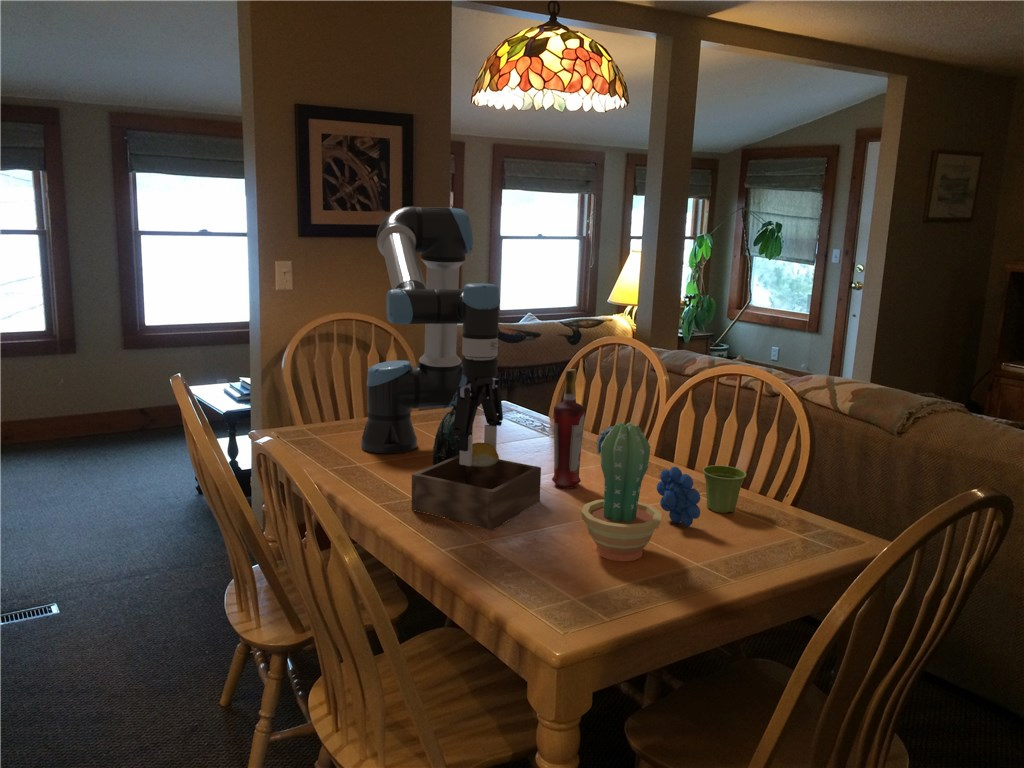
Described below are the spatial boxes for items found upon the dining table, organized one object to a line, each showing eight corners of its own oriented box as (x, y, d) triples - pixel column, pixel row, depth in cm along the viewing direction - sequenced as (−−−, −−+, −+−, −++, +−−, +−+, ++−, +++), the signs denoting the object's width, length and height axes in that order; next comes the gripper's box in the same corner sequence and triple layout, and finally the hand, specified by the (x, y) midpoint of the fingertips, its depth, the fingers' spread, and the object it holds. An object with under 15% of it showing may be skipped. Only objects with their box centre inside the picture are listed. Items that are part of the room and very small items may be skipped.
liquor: (556, 478, 196) (560, 366, 191) (585, 482, 194) (590, 369, 188) (546, 487, 190) (551, 371, 184) (576, 491, 187) (581, 374, 181)
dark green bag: (455, 463, 207) (457, 387, 203) (479, 465, 205) (481, 389, 201) (427, 486, 188) (427, 403, 184) (453, 489, 186) (454, 405, 182)
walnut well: (411, 510, 172) (411, 474, 171) (463, 484, 190) (464, 452, 188) (492, 530, 162) (493, 492, 161) (539, 501, 180) (541, 467, 178)
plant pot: (744, 505, 181) (747, 468, 180) (741, 518, 173) (745, 480, 171) (702, 499, 184) (704, 463, 183) (697, 512, 176) (700, 474, 174)
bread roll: (495, 455, 179) (496, 438, 178) (500, 467, 170) (500, 449, 169) (458, 456, 178) (458, 438, 177) (461, 468, 169) (461, 449, 168)
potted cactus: (651, 536, 161) (659, 416, 156) (667, 569, 146) (677, 436, 141) (575, 535, 161) (580, 414, 156) (583, 567, 146) (589, 435, 141)
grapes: (641, 518, 171) (645, 464, 169) (663, 512, 175) (667, 459, 173) (683, 536, 162) (687, 479, 160) (705, 529, 166) (710, 473, 164)
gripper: (466, 365, 158) (465, 475, 163) (520, 352, 177) (518, 450, 181) (435, 362, 162) (434, 468, 166) (491, 349, 181) (489, 445, 185)
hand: (478, 459), depth 174 cm, fingers closed on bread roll, 9 cm apart
